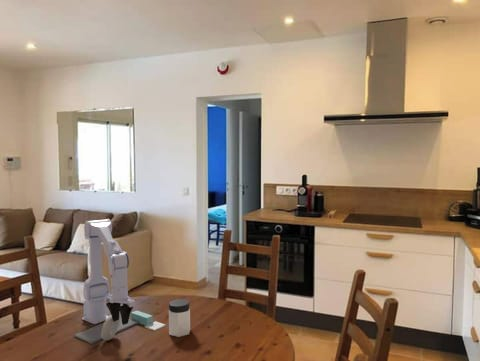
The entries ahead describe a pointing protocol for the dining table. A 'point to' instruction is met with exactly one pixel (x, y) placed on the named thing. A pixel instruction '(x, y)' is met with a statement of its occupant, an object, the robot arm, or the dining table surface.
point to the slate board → (95, 332)
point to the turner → (146, 320)
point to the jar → (179, 317)
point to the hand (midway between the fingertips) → (120, 322)
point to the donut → (109, 328)
